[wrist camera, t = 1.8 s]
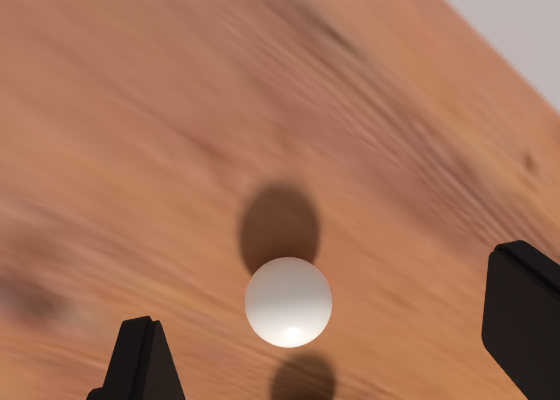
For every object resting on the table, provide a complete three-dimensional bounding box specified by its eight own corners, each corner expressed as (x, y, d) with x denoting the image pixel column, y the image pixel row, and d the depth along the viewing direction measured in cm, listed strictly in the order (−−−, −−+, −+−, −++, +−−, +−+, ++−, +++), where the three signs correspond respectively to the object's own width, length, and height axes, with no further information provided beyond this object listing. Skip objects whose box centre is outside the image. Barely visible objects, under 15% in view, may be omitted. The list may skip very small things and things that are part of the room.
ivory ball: (234, 250, 27) (240, 302, 22) (316, 234, 27) (339, 281, 22) (248, 315, 29) (256, 376, 24) (323, 300, 30) (346, 356, 25)
